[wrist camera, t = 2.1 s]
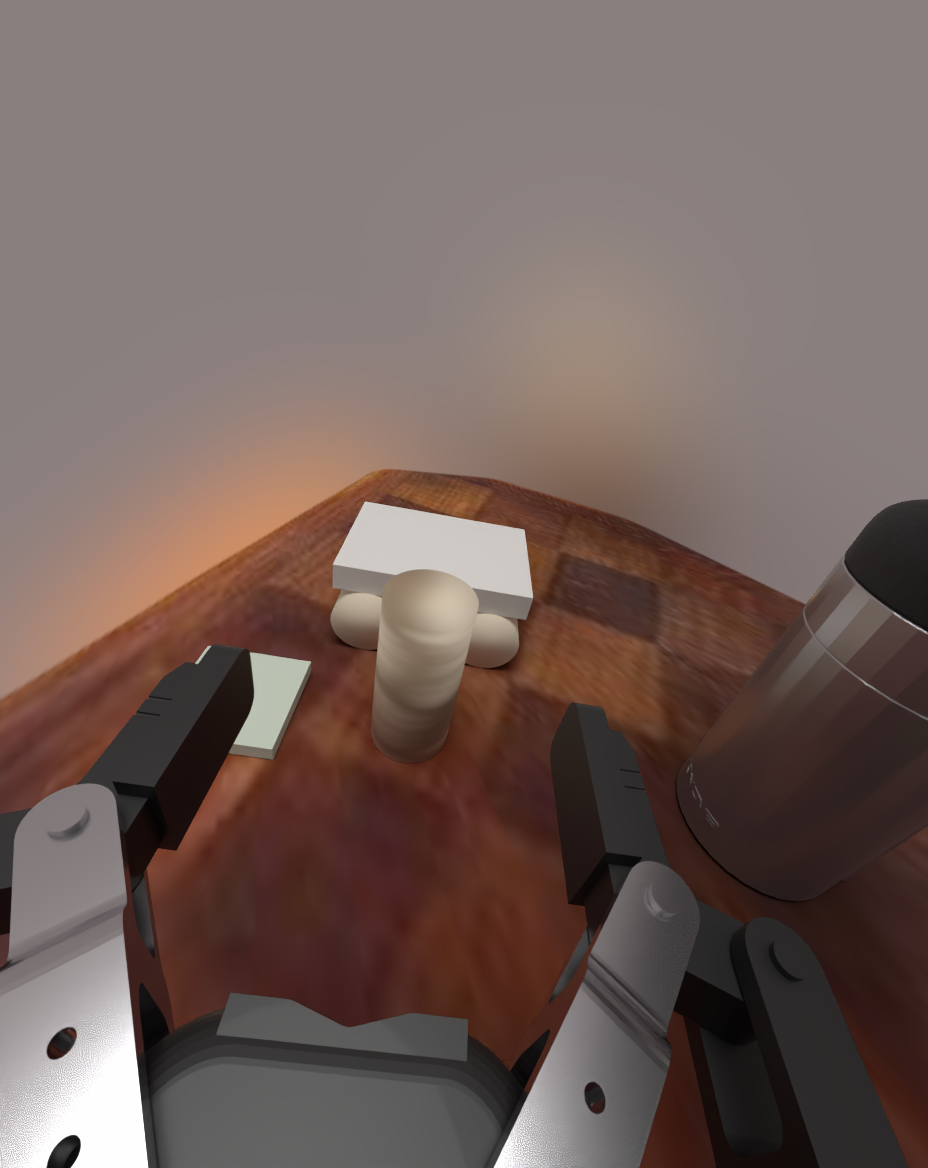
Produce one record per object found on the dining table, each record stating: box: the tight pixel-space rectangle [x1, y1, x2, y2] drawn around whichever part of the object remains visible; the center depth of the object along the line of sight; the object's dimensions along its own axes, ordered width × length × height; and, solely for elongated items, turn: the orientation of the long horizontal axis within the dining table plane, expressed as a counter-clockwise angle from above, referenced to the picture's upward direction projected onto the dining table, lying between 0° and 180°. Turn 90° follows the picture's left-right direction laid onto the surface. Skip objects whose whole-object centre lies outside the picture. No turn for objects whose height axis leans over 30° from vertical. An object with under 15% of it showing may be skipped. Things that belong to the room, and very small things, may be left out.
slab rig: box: [331, 502, 533, 668], centre depth 38 cm, size 14×11×7 cm
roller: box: [371, 569, 479, 763], centre depth 27 cm, size 5×5×11 cm
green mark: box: [195, 646, 311, 760], centre depth 29 cm, size 7×7×1 cm
